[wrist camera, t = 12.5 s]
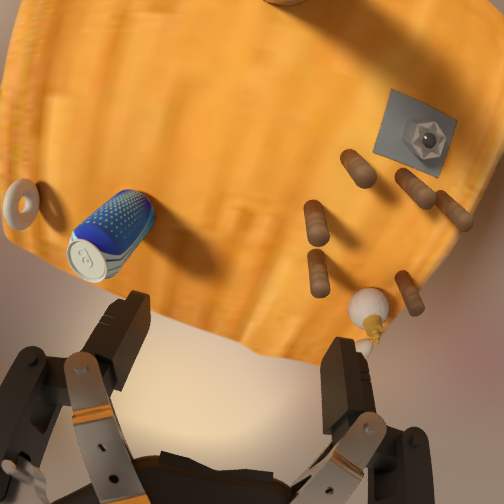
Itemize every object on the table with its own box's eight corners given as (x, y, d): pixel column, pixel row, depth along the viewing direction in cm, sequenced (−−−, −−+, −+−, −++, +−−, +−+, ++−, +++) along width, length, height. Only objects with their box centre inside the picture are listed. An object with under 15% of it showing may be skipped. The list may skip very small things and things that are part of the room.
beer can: (164, 199, 46) (118, 252, 32) (150, 239, 50) (108, 298, 36) (120, 178, 44) (63, 222, 31) (110, 219, 49) (60, 270, 35)
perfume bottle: (389, 282, 50) (408, 329, 40) (372, 320, 55) (384, 367, 45) (351, 277, 50) (364, 327, 40) (337, 317, 55) (345, 366, 45)
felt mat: (391, 88, 33) (391, 88, 33) (456, 120, 33) (457, 121, 33) (372, 152, 38) (372, 152, 38) (437, 177, 39) (437, 178, 38)
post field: (323, 140, 38) (333, 154, 31) (451, 187, 39) (479, 211, 31) (287, 257, 49) (287, 291, 41) (404, 284, 50) (419, 317, 42)
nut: (409, 111, 34) (420, 114, 31) (436, 124, 34) (449, 128, 31) (397, 146, 37) (408, 153, 34) (425, 158, 37) (436, 165, 34)
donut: (46, 217, 50) (16, 241, 41) (35, 215, 50) (6, 238, 41) (39, 171, 44) (5, 191, 36) (29, 170, 44) (-5, 190, 36)
